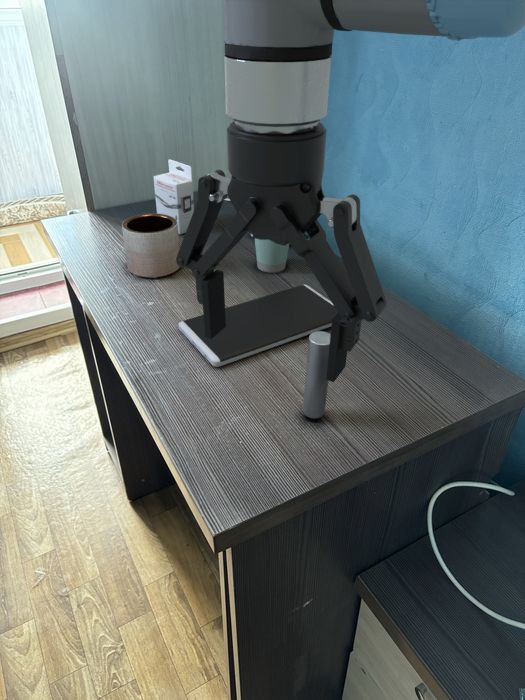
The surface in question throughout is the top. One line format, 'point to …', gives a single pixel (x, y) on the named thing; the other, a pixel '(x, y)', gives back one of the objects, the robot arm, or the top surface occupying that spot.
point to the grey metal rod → (316, 376)
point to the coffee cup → (271, 255)
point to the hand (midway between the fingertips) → (272, 351)
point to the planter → (151, 244)
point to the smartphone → (262, 324)
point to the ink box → (175, 194)
